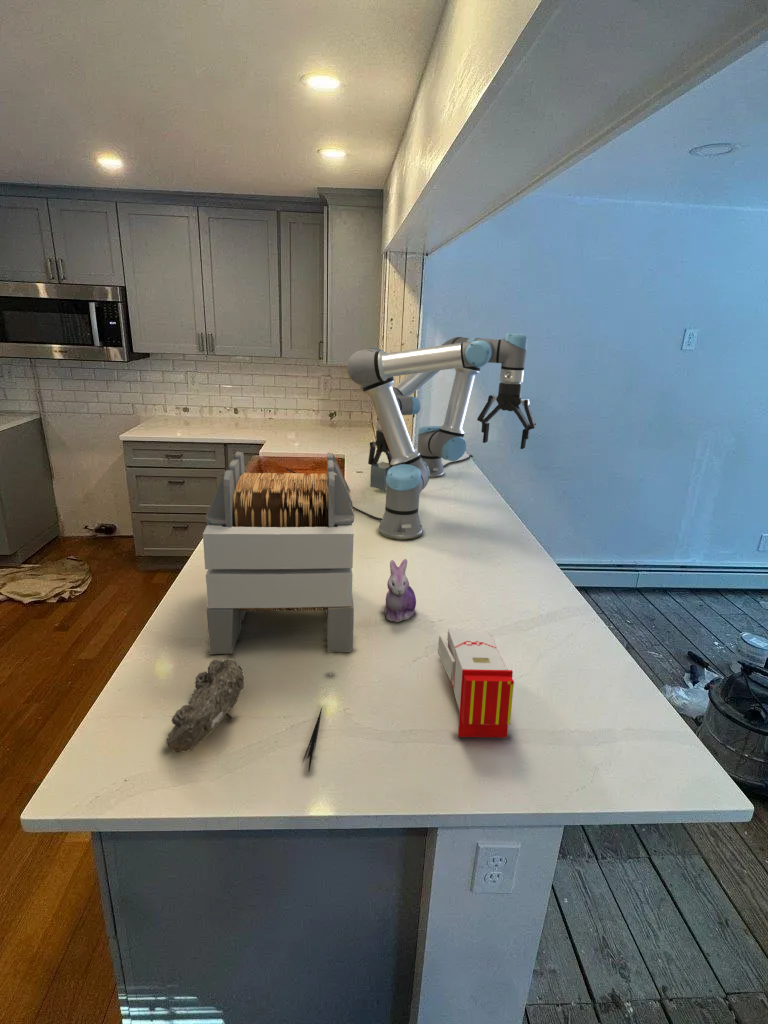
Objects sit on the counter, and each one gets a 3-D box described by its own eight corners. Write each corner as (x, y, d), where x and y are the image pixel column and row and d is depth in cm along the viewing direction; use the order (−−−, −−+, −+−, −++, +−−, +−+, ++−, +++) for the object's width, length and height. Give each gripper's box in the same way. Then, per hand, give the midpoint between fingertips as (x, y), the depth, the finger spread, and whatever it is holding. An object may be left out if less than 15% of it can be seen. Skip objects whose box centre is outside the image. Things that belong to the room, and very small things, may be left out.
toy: (488, 613, 130) (523, 677, 101) (484, 667, 133) (517, 744, 104) (435, 612, 130) (455, 676, 101) (432, 666, 133) (451, 743, 103)
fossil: (192, 660, 117) (244, 628, 112) (224, 691, 120) (276, 661, 115) (142, 746, 98) (202, 712, 93) (182, 779, 101) (242, 748, 96)
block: (370, 486, 245) (370, 465, 241) (381, 482, 252) (382, 461, 249) (383, 489, 241) (384, 468, 238) (394, 485, 249) (395, 464, 245)
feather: (331, 679, 122) (336, 673, 122) (307, 777, 96) (313, 769, 95) (324, 675, 122) (329, 669, 121) (298, 772, 95) (304, 764, 95)
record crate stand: (229, 585, 158) (221, 442, 144) (346, 584, 161) (350, 444, 148) (206, 656, 126) (193, 481, 112) (353, 652, 130) (358, 483, 116)
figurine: (392, 627, 141) (395, 572, 136) (374, 608, 149) (376, 556, 144) (425, 619, 145) (429, 566, 140) (405, 601, 154) (408, 550, 149)
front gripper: (471, 379, 191) (465, 441, 198) (544, 387, 179) (535, 453, 186) (480, 377, 197) (474, 437, 204) (551, 385, 185) (542, 448, 192)
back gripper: (360, 428, 240) (359, 480, 248) (401, 435, 231) (398, 489, 238) (370, 425, 246) (368, 476, 254) (410, 432, 237) (407, 484, 244)
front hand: (503, 445), depth 195 cm, fingers open, 13 cm apart
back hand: (382, 482), depth 246 cm, fingers closed on block, 7 cm apart
